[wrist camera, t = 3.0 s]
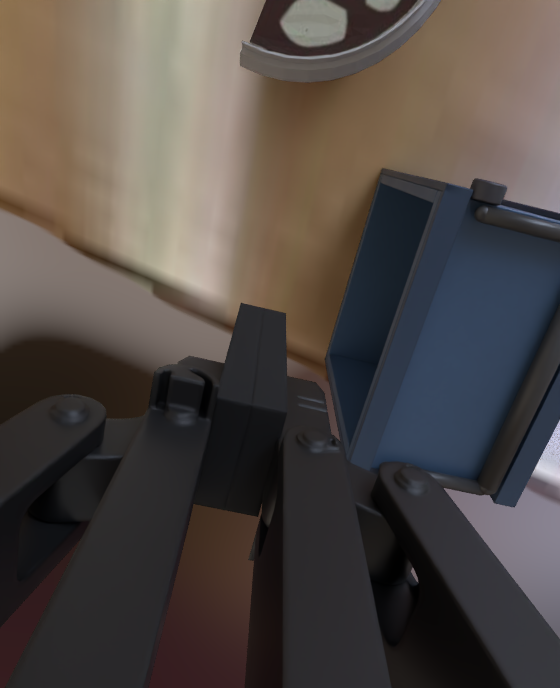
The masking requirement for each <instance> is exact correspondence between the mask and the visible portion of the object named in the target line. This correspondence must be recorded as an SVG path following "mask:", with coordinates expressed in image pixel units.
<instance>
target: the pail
mask: <svg viewBox="0 0 560 688" xmlns="http://www.w3.org/2000/svg"><path fill="white" fill-rule="evenodd" d="M506 190H507V186H505V185H502V184H498V183H495V182H491V181H487V180H482V179H478V178H475V179H474V180H473V182H472V185H471V187H470V189H468V188H465V187H461V186H457V185H453V184H449V183H445V182H441V181H436V180H432V179H428V178H423V177H419V176H414V175H410V174H406V173H401V172H397V171H392V170H388V169H384V168H382V170H381V173H380V177H379V180H378V183H377V187H376V190H375V193H374V197H373V200H372V203H371V207H370V210H369V213H368V217H367V220H366V223H365V227H364V230H363V233H362V237H361V240H360V243H359V247H358V250H357V253H356V257H355V260H354V263H353V267H352V270H351V273H350V277H349V280H348V283H347V287H346V290H345V293H344V297H343V300H342V303H341V307H340V310H339V313H338V317H337V320H336V323H335V327H334V330H333V333H332V337H331V340H330V343H329V347H328V350H327V354H326V357H325V363H326V369H327V374H328V379H329V384H330V389H331V395H332V400H333V405H334V410H335V416H336V421H337V426H338V431H339V436H340V442H341V443H342V445H343V447H344V450H345V455H346V460H348V461H349V462H351V463H353V464H355V465H357V466H359V467H361V468H363V469H365V470H368V471H370V472H373V473H375V474H377V475H378V473H379V471H380V468H381V466H382V465H383V464H385V463H387V462H395V461H398V462H404V463H410V464H413V465H414V466H418V467H420V468H422V469H423V470H424V471H426V472H427V473H429V474H430V475H432V476H433V477H434V478H435V479H436V480H437V481H438V482H439V483H440V485H441V486H442V487H443V488H447V489H452V490H457V491H462V492H466V493H471V494H476V495H484V494H485V495H490V497H491V498H492V500H493V502H494V503H496V504H500V505H505V506H510V507H515V506H516V504H517V502H518V500H519V498H520V496H521V494H522V492H523V490H524V488H525V486H526V484H527V482H528V480H529V479H530V477H531V475H532V473H533V471H534V469H535V467H536V465H537V463H538V461H539V459H540V457H541V455H542V453H543V451H544V449H545V447H546V445H547V444H548V442H549V440H550V438H551V436H552V434H553V432H554V430H555V428H556V426H557V424H558V422H559V420H560V213H556V212H552V211H548V210H544V209H540V208H536V207H531V206H527V205H523V204H519V203H515V202H511V201H507V200H503V198H504V195H505V193H506Z"/></svg>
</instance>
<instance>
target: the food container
mask: <svg viewBox="0 0 560 688" xmlns="http://www.w3.org/2000/svg"><path fill="white" fill-rule="evenodd" d="M440 1H441V0H266V2H265V5H264V7H263V10H262V12H261V15H260V17H259V20H258V22H257V25H256V27H255V30H254V32H253V35H252V37H251V40H250V43H251V44H250V43H247V42H245V41H242V46H243V47H242V50H241V52H240V66H242V67H244V68H246V69H249V70H251V71H253V72H255V73H258V74H260V75H263V76H267V77H271V78H275V79H279V80H283V81H293V82H307V83H309V82H319V81H329V80H334V79H338V78H341V77H345V76H348V75H352V74H355V73H357V72H359V71H362V70H364V69H366V68H368V67H370V66H372V65H374V64H376V63H378V62H380V61H381V60H383V59H384V58H385V57H387V56H388V55H390V54H391V53H393V52H394V51H396V50H397V49H399V48H400V47H401V46H402V45H403V44H404V43H405V42H406V41H407V40H408V39H409V38H410V37H412V36H413V35H414V34H415V33H416V32H417V31H418V30H419V29H420V27H421V26H422V25H423V24H424V23H425V21H426V20H427V19H428V18H429V16H430V15H431V14H432V13H433V11H434V10H435V9H436V7H437V6H438V4H439V2H440Z"/></svg>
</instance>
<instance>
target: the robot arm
mask: <svg viewBox="0 0 560 688" xmlns="http://www.w3.org/2000/svg"><path fill="white" fill-rule="evenodd" d="M193 504H197V505H202V506H207V507H212V508H217V509H222V510H227V511H232V512H237V513H242V514H247V515H252V516H257V517H258V515H259V511H260V508H261V504H262V514H261V517H260V521H259V524H258V528H257V531H256V535H255V538H254V542H253V546H252V549H251V553H250V556H249V560H252V561H253V560H254V569H253V582H252V595H251V610H250V623H249V636H248V637H249V638H248V649H247V663H246V676H245V688H560V639H559V637H558V636H557V635H556V634H555V632H554V631H553V630H552V628H551V627H550V626H549V624H548V623H547V622H546V621H545V619H544V618H543V617H542V615H541V614H540V613H539V612H538V610H537V609H536V608H535V606H534V605H533V604H532V603H531V601H530V600H529V599H528V597H527V596H526V595H525V593H524V592H523V591H522V590H521V588H520V587H519V586H518V584H517V583H516V582H515V580H514V579H513V578H512V577H511V575H510V574H509V573H508V572H507V570H506V569H505V568H504V566H503V565H502V564H501V562H500V561H499V560H498V559H497V557H496V556H495V555H494V553H493V552H492V551H491V549H490V548H489V547H488V545H487V544H486V543H485V542H484V540H483V539H482V538H481V537H480V535H479V534H478V533H477V531H476V530H475V529H474V527H473V526H472V525H471V523H470V522H469V521H468V520H467V518H466V517H465V516H464V514H463V513H462V512H461V511H460V509H459V508H458V507H457V505H456V504H455V503H454V502H453V500H452V499H451V498H450V497H449V495H448V494H447V493H446V491H445V490H444V488H443V487H442V486H441V485H440V483H439V482H438V481H437V480H436V479H435V478H434V477H433V476H432V475H430V474H429V473H427V472H426V471H424V470H423V469H422V468H420V467H418V466H414V465H413V464H410V463H404V462H398V461H395V462H387V463H385V464H383V465H382V466H381V468H380V471H379V473H378V475H377V474H375V473H373V472H370V471H368V470H365V469H363V468H361V467H359V466H357V465H355V464H353V463H351V462H349V461H348V460H346V455H345V450H344V447H343V445H342V443H341V442H340V441H339V440H338V439H337V438H336V437H335V436H334V435H332V434H331V429H330V424H329V417H328V412H327V405H326V399H325V394H324V392H323V391H322V389H321V388H320V387H319V386H318V385H317V383H316V382H312V381H307V380H303V379H298V378H294V377H289V376H287V353H286V313H282V312H278V311H274V310H270V309H265V308H261V307H257V306H252V305H248V304H244V303H241V305H240V308H239V312H238V316H237V319H236V323H235V327H234V330H233V334H232V338H231V342H230V345H229V349H228V352H227V356H226V360H225V363H220V362H216V361H211V360H207V359H202V358H198V357H193V356H188V357H186V358H184V359H183V360H181V361H179V362H178V364H174V365H173V364H172V365H166V366H163V367H159V368H158V369H157V370H156V371H155V372H154V376H153V382H152V389H151V395H150V401H149V408H148V409H147V411H146V413H145V415H144V416H141V417H136V418H131V419H106V409H105V408H104V407H103V405H102V404H101V403H99V402H97V401H95V400H94V399H92V398H89V397H84V396H81V395H75V394H73V395H71V394H63V395H57V396H51V397H48V398H46V399H43V400H41V401H39V402H37V403H36V404H34V405H32V406H31V407H29V408H28V409H26V410H24V411H22V412H21V413H19V414H17V415H16V416H14V417H12V418H11V419H9V420H7V421H6V422H4V423H2V424H1V425H0V627H1V626H2V625H3V624H4V623H5V622H6V621H7V620H8V618H9V617H10V616H11V615H12V614H13V613H14V612H15V611H16V609H18V607H19V606H20V605H21V604H22V603H23V602H24V601H25V600H26V599H27V597H28V596H29V595H30V594H31V593H32V592H33V591H34V590H35V589H36V588H37V586H38V585H39V584H40V583H41V582H42V581H43V580H44V579H45V578H46V577H47V575H48V574H49V573H50V572H51V571H52V570H53V569H54V568H55V567H56V565H57V564H58V563H59V562H60V561H61V560H62V559H63V558H64V557H65V556H66V555H67V553H68V552H69V551H70V550H71V549H72V548H73V547H74V546H75V545H76V543H77V542H78V541H79V540H80V539H81V540H80V542H79V544H78V546H77V548H76V550H75V552H74V554H73V556H72V558H71V560H70V562H69V564H68V565H67V568H66V569H65V571H64V573H63V575H62V577H61V579H60V581H59V583H58V585H57V587H56V589H55V591H54V593H53V595H52V597H51V599H50V601H49V603H48V604H47V606H46V608H45V610H44V613H43V614H42V616H41V618H40V620H39V622H38V624H37V626H36V628H35V630H34V632H33V634H32V636H31V638H30V640H29V642H28V643H27V645H26V647H25V649H24V651H23V653H22V655H21V657H20V659H19V661H18V663H17V665H16V667H15V669H14V671H13V673H12V675H11V677H10V679H9V681H8V683H7V685H6V687H5V688H148V687H149V683H150V679H151V675H152V671H153V667H154V663H155V659H156V655H157V651H158V647H159V643H160V639H161V635H162V630H163V626H164V623H165V618H166V614H167V610H168V606H169V602H170V598H171V594H172V590H173V586H174V581H175V578H176V574H177V570H178V566H179V561H180V557H181V553H182V550H183V545H184V541H185V537H186V533H187V529H188V525H189V521H190V517H191V512H192V508H193ZM412 567H413V568H414V570H415V572H416V575H417V577H418V582H419V583H418V582H417V581H416V580H415V578H414V577H413V575H412V573H411V569H412Z"/></svg>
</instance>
